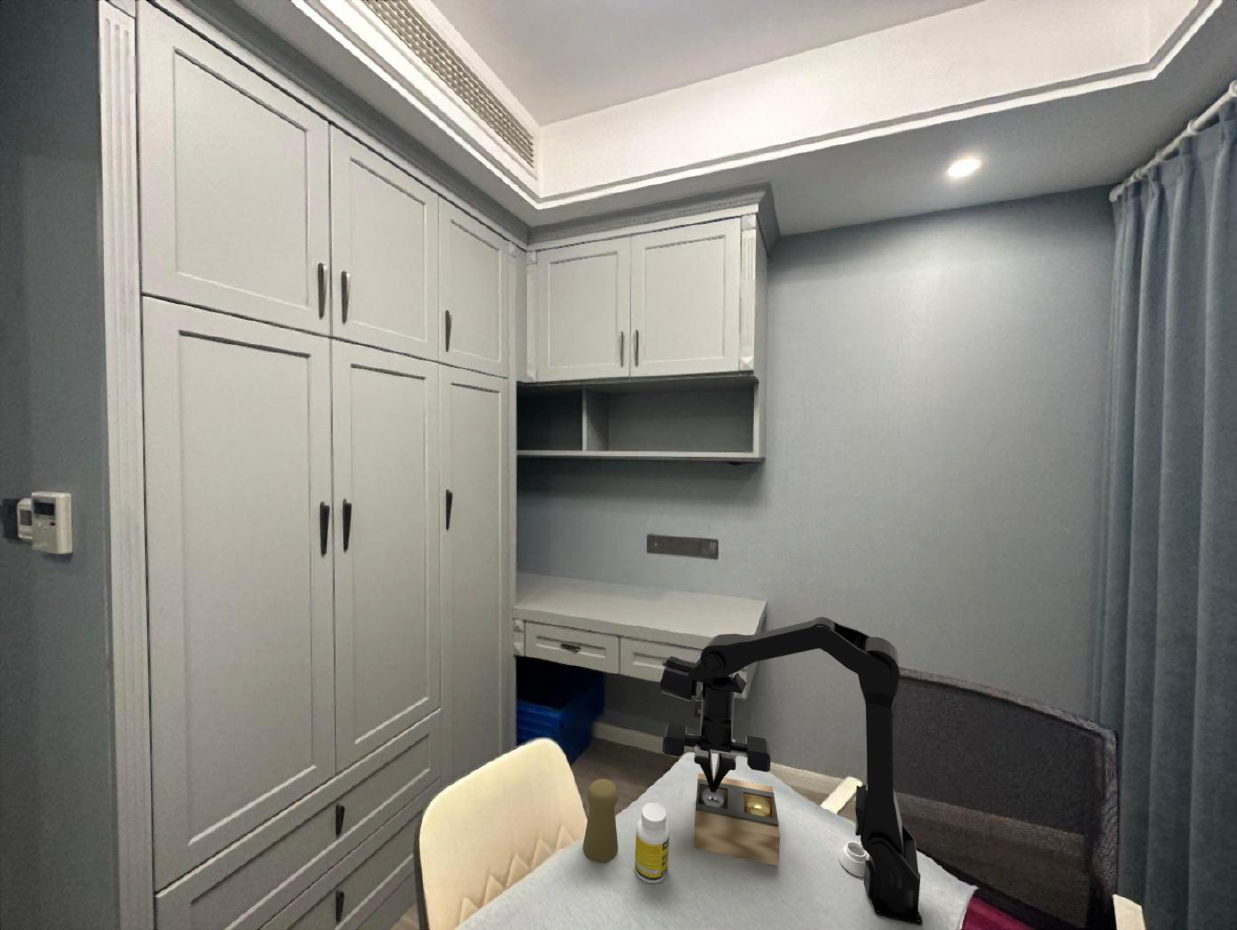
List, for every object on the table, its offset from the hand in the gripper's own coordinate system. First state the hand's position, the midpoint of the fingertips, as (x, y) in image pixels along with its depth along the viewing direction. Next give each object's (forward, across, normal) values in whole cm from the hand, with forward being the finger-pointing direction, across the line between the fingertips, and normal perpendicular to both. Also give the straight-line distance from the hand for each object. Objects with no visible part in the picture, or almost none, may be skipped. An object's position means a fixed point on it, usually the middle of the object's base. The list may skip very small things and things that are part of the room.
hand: (713, 791), depth 87 cm
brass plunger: (+6, -8, 0) cm, 10 cm away
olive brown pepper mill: (+6, +18, +10) cm, 22 cm away
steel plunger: (+6, 0, 0) cm, 6 cm away
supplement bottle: (+6, +9, +12) cm, 17 cm away
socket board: (+6, -4, 0) cm, 8 cm away
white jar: (+7, -24, +2) cm, 25 cm away
